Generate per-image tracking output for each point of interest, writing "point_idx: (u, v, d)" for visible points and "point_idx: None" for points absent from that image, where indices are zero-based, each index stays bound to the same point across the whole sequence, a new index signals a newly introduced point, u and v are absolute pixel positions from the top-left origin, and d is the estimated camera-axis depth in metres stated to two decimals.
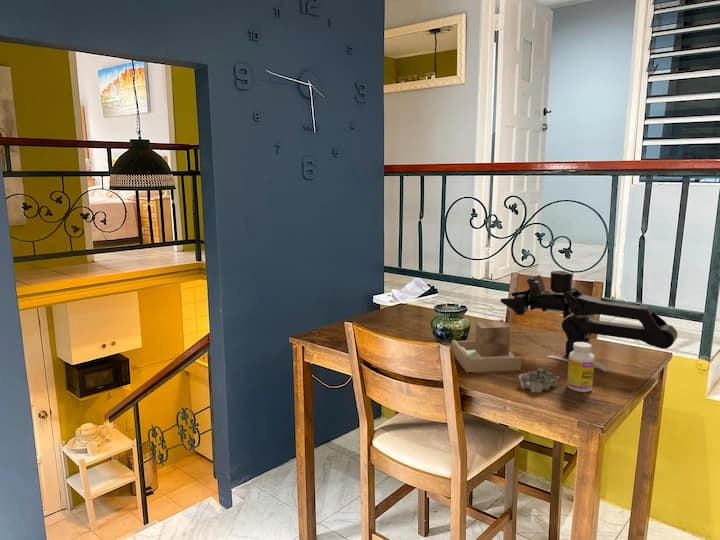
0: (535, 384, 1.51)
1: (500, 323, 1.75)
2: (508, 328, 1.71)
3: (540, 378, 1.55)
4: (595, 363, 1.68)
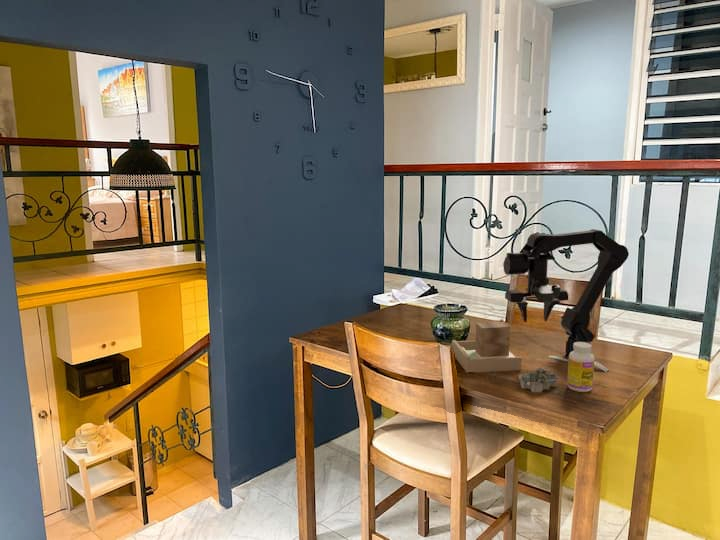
0: (535, 384, 1.51)
1: (500, 323, 1.75)
2: (508, 328, 1.71)
3: (540, 378, 1.55)
4: (595, 363, 1.68)
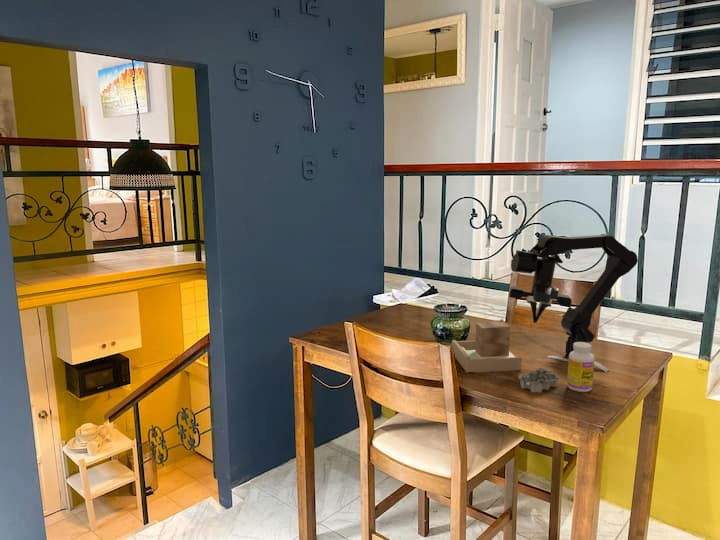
0: (535, 384, 1.51)
1: (500, 323, 1.75)
2: (508, 328, 1.71)
3: (540, 378, 1.55)
4: (595, 363, 1.68)
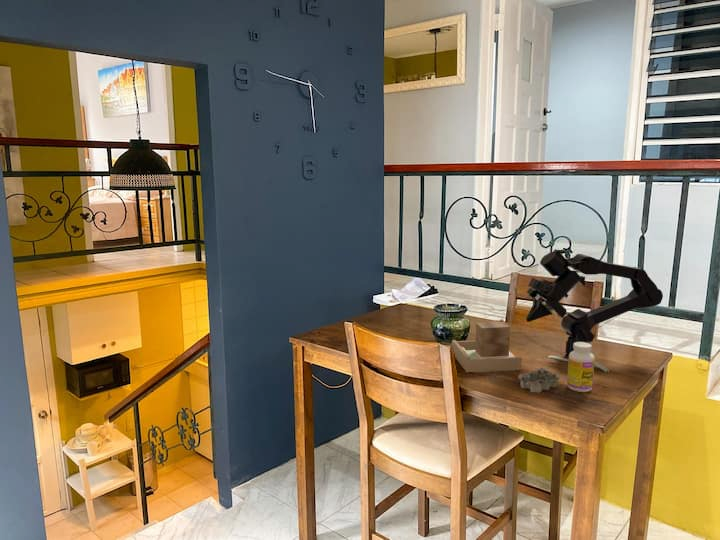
0: (534, 384, 1.51)
1: (500, 323, 1.75)
2: (508, 328, 1.71)
3: (540, 378, 1.55)
4: (596, 363, 1.68)
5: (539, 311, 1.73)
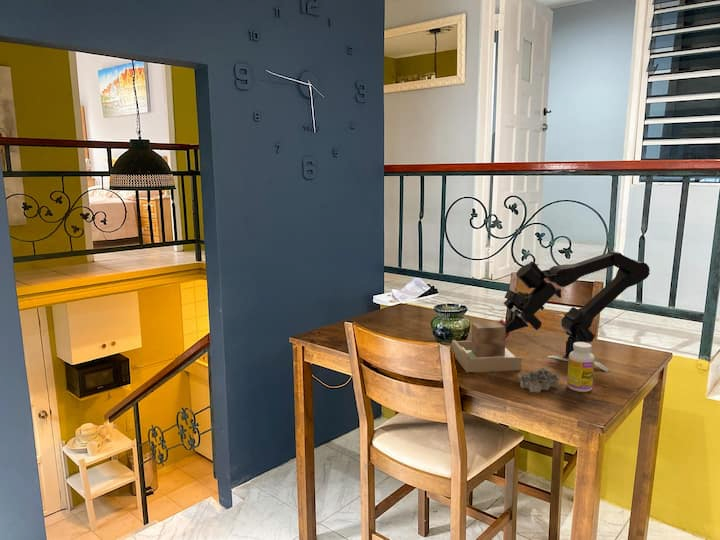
0: (533, 384, 1.51)
1: (496, 323, 1.75)
2: (504, 328, 1.71)
3: (540, 378, 1.55)
4: (596, 363, 1.68)
5: (515, 323, 1.73)
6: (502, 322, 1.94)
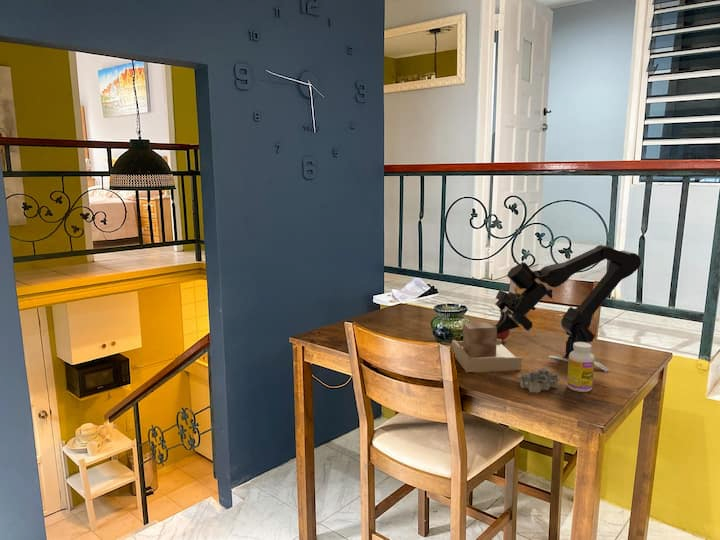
0: (533, 384, 1.51)
1: (487, 324, 1.75)
2: (495, 329, 1.71)
3: (541, 378, 1.55)
4: (596, 363, 1.68)
5: (506, 324, 1.73)
6: None
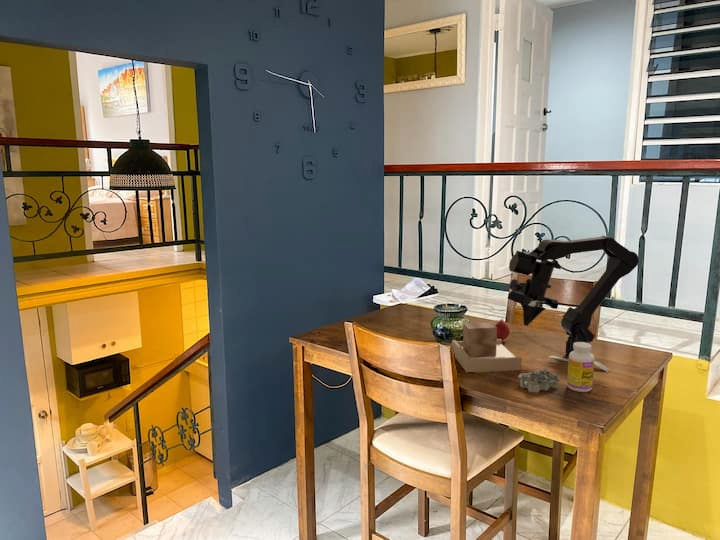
0: (532, 384, 1.51)
1: (487, 324, 1.75)
2: (495, 329, 1.71)
3: (541, 378, 1.55)
4: (596, 363, 1.68)
5: (527, 311, 1.73)
6: (502, 322, 1.94)
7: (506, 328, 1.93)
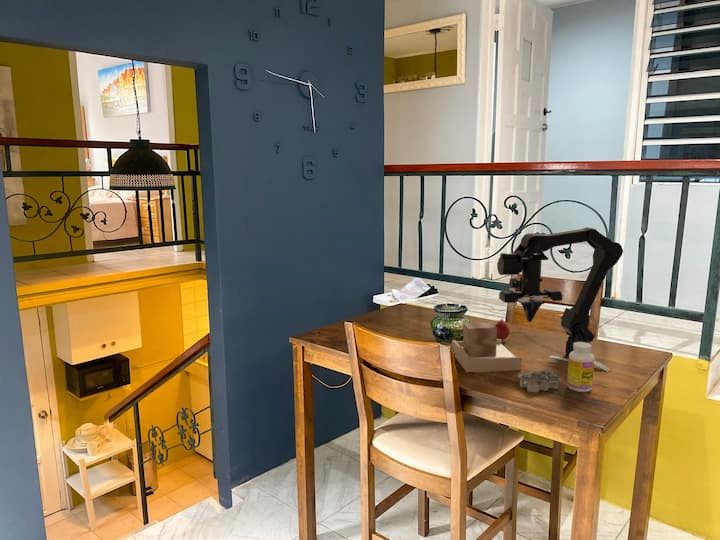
0: (531, 384, 1.51)
1: (487, 324, 1.75)
2: (495, 329, 1.71)
3: (541, 379, 1.55)
4: (597, 363, 1.68)
5: (525, 307, 1.74)
6: (502, 322, 1.94)
7: (506, 328, 1.93)
